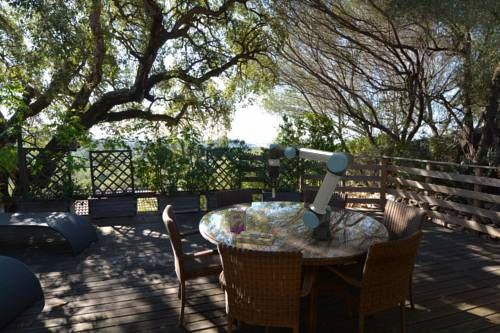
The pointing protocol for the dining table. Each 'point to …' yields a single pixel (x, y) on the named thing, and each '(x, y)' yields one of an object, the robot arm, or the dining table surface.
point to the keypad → (255, 239)
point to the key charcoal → (266, 236)
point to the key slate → (255, 234)
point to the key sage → (246, 234)
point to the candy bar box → (237, 220)
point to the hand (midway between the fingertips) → (273, 197)
